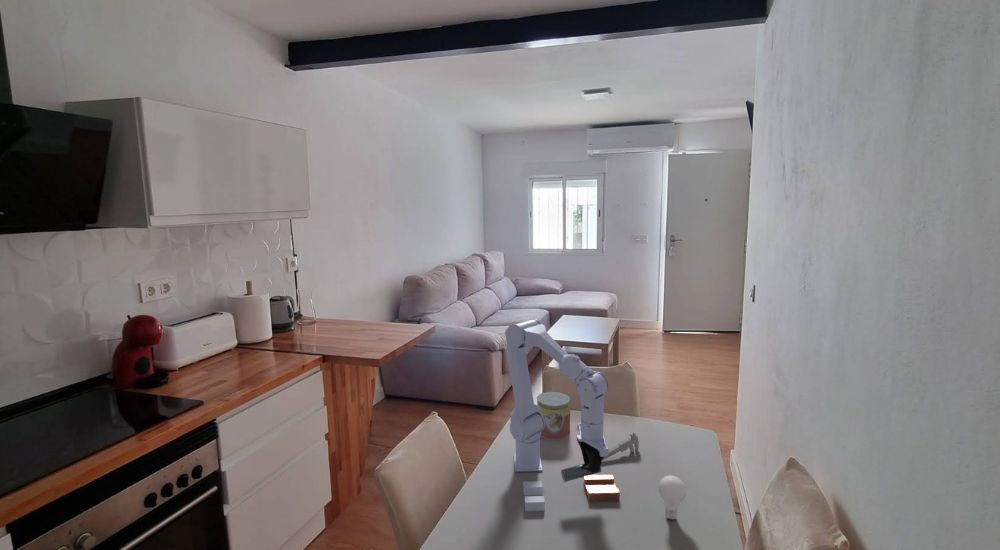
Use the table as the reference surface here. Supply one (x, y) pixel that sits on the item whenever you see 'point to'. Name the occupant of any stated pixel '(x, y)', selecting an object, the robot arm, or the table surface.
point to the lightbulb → (672, 494)
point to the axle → (577, 472)
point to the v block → (601, 488)
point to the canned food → (555, 415)
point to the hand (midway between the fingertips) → (591, 467)
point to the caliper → (625, 446)
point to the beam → (533, 501)
